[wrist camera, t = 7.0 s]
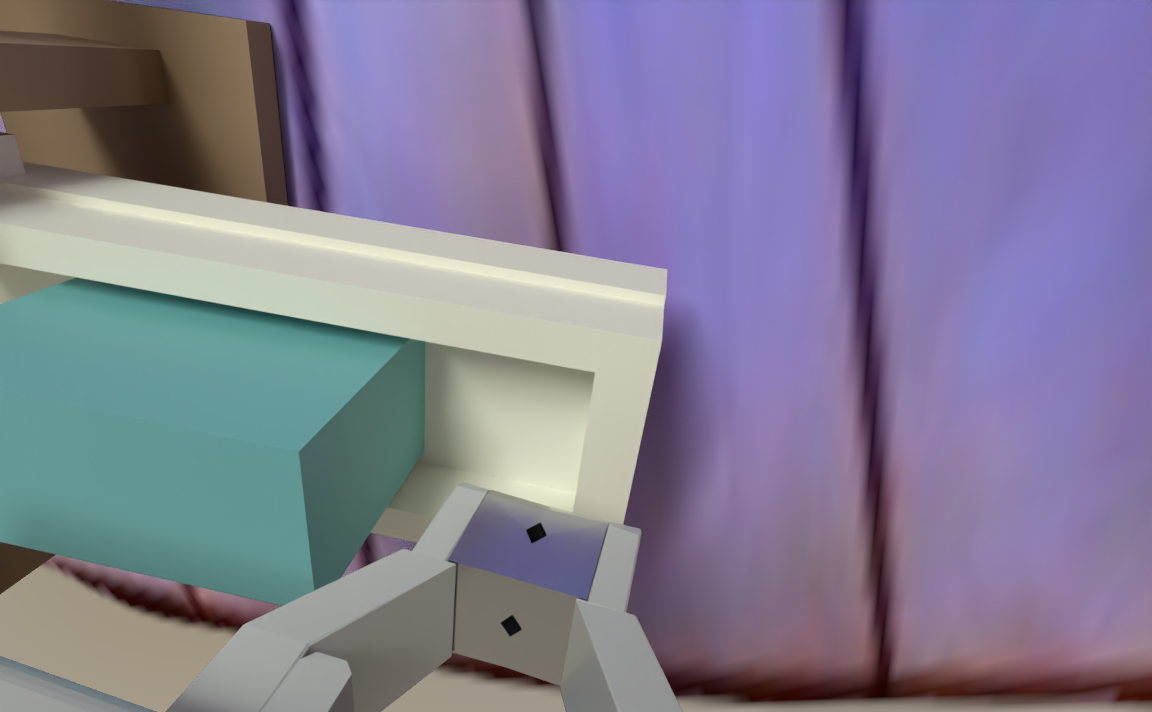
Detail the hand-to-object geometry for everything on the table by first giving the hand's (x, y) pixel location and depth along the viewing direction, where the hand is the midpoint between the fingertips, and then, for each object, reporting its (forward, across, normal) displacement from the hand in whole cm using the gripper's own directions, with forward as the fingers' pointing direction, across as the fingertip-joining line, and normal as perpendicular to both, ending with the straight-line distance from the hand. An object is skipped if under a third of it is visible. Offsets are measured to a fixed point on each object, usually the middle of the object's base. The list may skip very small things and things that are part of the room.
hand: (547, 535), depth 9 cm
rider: (+3, +7, 0) cm, 8 cm away
